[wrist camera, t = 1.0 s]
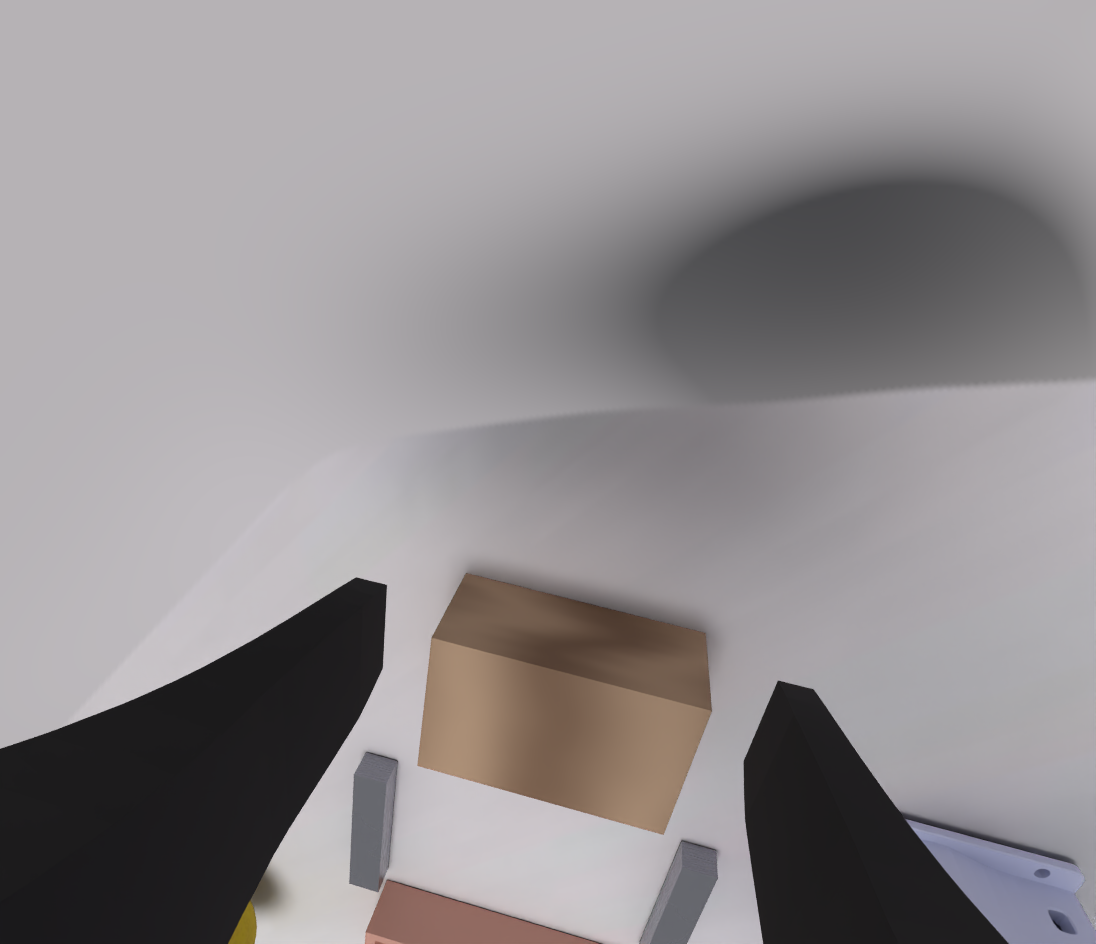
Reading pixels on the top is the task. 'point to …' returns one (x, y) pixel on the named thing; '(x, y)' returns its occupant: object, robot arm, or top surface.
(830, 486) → the top surface
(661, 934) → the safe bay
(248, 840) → the robot arm
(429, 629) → the top surface
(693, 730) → the block
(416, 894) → the tray
